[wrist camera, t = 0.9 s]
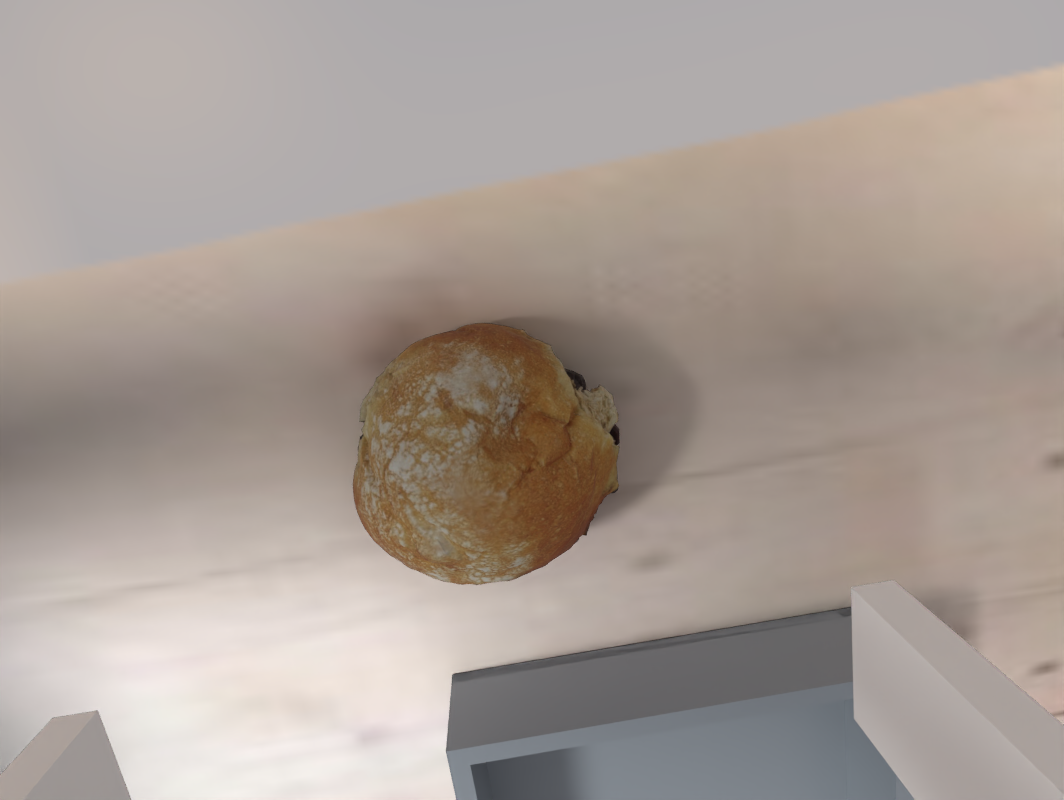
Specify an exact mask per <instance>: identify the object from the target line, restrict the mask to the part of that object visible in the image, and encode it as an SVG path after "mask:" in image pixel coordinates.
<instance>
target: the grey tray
mask: <svg viewBox="0 0 1064 800" xmlns="http://www.w3.org/2000/svg"><path fill="white" fill-rule="evenodd" d="M446 754H447V758H448V763H449V767H450V772H451V777H452V781H453V786H454V791H455V795H456V800H915V799H914V798H913V797H912V795H911V794H910V793H909V791H908V790H907V789H906V787H905V786H904V785H903V783H902V782H901V781H900V779H899V778H898V777H897V775H896V774H895V773H894V771H893V770H892V769H891V767H890V766H889V765H888V763H887V762H886V761H885V759H884V758H883V757H882V755H881V754H880V753H879V751H878V750H877V749H876V747H875V746H874V745H873V743H872V742H871V741H870V739H869V738H868V737H867V735H866V734H865V733H864V731H863V730H862V729H861V727H860V726H859V725H858V723H857V722H856V721H855V719H854V702H853V657H852V612H851V607H850V608H844V609H838V610H832V611H827V612H821V613H815V614H809V615H803V616H797V617H791V618H785V619H779V620H773V621H767V622H761V623H755V624H750V625H744V626H738V627H732V628H726V629H720V630H714V631H708V632H702V633H696V634H690V635H684V636H678V637H673V638H667V639H661V640H655V641H649V642H643V643H637V644H631V645H625V646H619V647H613V648H607V649H601V650H596V651H590V652H584V653H578V654H572V655H566V656H560V657H554V658H548V659H542V660H536V661H530V662H525V663H519V664H513V665H507V666H501V667H495V668H489V669H483V670H477V671H471V672H465V673H459V674H453V675H452V686H451V698H450V710H449V722H448V734H447V746H446Z"/></svg>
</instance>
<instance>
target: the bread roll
mask: <svg viewBox="0 0 1064 800" xmlns="http://www.w3.org/2000/svg"><path fill="white" fill-rule="evenodd" d="M574 413H575V414H574ZM576 414H577V415H576ZM359 422H365V423H364V426H363V428H362V429H361V430H362V432H363V435H362V436H361V437H360V440H359V446H358V462H357V464H356V468H355V472H354V479H353V492H354V501H355V505H356V509H357V512H358V515H359V517H360V520H361V522H362V524H363V526H364V527H365V529H366V530H367V532H368V533H369V535H370V536H371V537H372V539H373V540H374V541H375V542H376V543H377V544H378V545H379V546H380V547H382V548H383V549H384V550H385V551H386V552H387V553H388V554H389V555H391V556H392V557H394V558H396V559H398V560H399V561H401V562H402V563H403V564H404V565H406V566H407V567H409V568H411V569H414V570H417V571H419V572H422V573H424V574H426V575H428V576H430V577H432V578H434V579H438V580H441V581H445V582H451V583H456V584H462V585H464V584H475V585H479V584H485V583H491V582H499V581H510V580H513V579H516V578H518V577H520V576H522V575H525V574H528V573H530V572H531V571H533V570H536V569H538V568H541V567H543V566H546V565H547V564H548V563H549V562H550V561H552V560H553V559H555V558H556V557H558V556H559V555H561V554H562V553H564V552H566V551H567V550H569V549H570V548H571V547H572V546H573V544H575V543H576V542H577V541H578V540H579V537H581V536H582V535H587V531H588V528H589V525H590V522H591V521H592V519H593V518H594V514H595V513H596V512H597V509H598V506H599V504H601V503H602V501H603V499H604V498H605V497H606V496H607V495H608V494H610V493H615V492H616V491H617V490H618V487H619V484H618V480H617V466H616V462H617V457H618V451H619V446H617V445H618V444H619V428H618V427H617V425H616V424H615V423H617V422H618V413H617V409H616V408H615V406H614V402H613V396H612V394H611V393H609V392H607V390H606V389H605V388H604V387H603V386H601V385H599V388H594V389H592V390H591V392H590V391H588V390H586V385H585V380H584V378H583V376H582V375H580V374H578V373H576V372H574V371H571V370H567V369H564V367H563V365H562V363H561V361H560V359H559V358H557V357H556V356H555V354H554V353H553V351H552V348H551V345H548V344H546V343H544V342H542V341H540V340H537V339H534V338H532V337H531V336H529V335H527V334H526V332H525V331H524V330H523V329H522V330H518V329H514V328H511V327H507V326H501V325H495V324H488V323H477V324H471V325H466V326H463V327H460V328H458V329H457V330H456V331H449V332H445V333H440V334H436V335H433V336H430V337H427V338H425V339H422V340H420V341H417V342H415V343H413V344H412V345H410V346H409V347H408V348H407V349H406V350H405V351H404V352H402V353H401V354H400V355H399V356H398V357H397V358H396V359H394V360H393V361H392V362H391V363H390V364H389V365H388V366H387V367H386V368H385V370H384V372H383V373H382V374H381V375H380V376H379V377H377V378H376V381H375V383H374V386H373V387H372V388H371V390H370V392H369V393H368V395H367V396H366V397H365V398H364V400H363V402H362V405H361V408H360V421H359Z"/></svg>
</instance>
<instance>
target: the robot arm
mask: <svg viewBox="0 0 1064 800" xmlns="http://www.w3.org/2000/svg"><path fill="white" fill-rule="evenodd" d="M851 612H852V657H853V702H854V719H855V721H856V722H857V723H858V725H859V726H860V727H861V729H862V730H863V731H864V733H865V734H866V735H867V737H868V738H869V739H870V741H871V742H872V743H873V745H874V746H875V747H876V749H877V750H878V751H879V753H880V754H881V755H882V757H883V758H884V759H885V761H886V762H887V763H888V765H889V766H890V767H891V769H892V770H893V771H894V773H895V774H896V775H897V777H898V778H899V779H900V781H901V782H902V783H903V785H904V786H905V787H906V789H907V790H908V791H909V793H910V794H911V795H912V797H913V798H914V799H915V800H1064V725H1063V724H1062V723H1061V722H1060V721H1059V720H1057V719H1056V718H1055V717H1054V716H1053V715H1052V714H1050V713H1049V712H1048V711H1047V710H1046V709H1045V708H1043V707H1042V706H1041V705H1040V704H1039V703H1038V702H1036V701H1035V700H1034V699H1033V698H1032V697H1030V696H1029V695H1028V694H1027V693H1026V692H1025V691H1023V690H1022V689H1021V688H1020V687H1019V686H1018V685H1016V684H1015V683H1014V682H1013V681H1012V680H1011V679H1009V678H1008V677H1007V676H1006V675H1005V674H1003V673H1002V672H1001V671H1000V670H999V669H998V668H996V667H995V666H994V665H993V664H992V663H991V662H989V661H988V660H987V659H986V658H985V657H984V656H982V655H981V654H980V653H979V652H978V651H977V650H975V649H974V648H973V647H972V646H971V645H969V644H968V643H967V642H966V641H965V640H964V639H962V638H961V637H960V636H959V635H958V634H957V633H955V632H954V631H953V630H952V629H951V628H950V627H948V626H947V625H946V624H945V623H944V622H942V621H941V620H940V619H939V618H938V617H937V616H935V615H934V614H933V613H932V612H931V611H930V610H928V609H927V608H926V607H925V606H924V605H923V604H921V603H920V602H919V601H918V600H917V599H916V598H914V597H913V596H912V595H911V594H910V593H908V592H907V591H906V590H905V589H904V588H903V587H901V586H900V585H899V584H898V583H897V582H896V581H894V580H890V581H884V582H878V583H872V584H866V585H860V586H854V587H851ZM0 800H131V798H130V795H129V792H128V790H127V787H126V784H125V782H124V779H123V776H122V774H121V771H120V768H119V766H118V763H117V760H116V758H115V755H114V752H113V750H112V747H111V744H110V742H109V739H108V736H107V734H106V731H105V728H104V726H103V723H102V720H101V718H100V715H99V712H98V711H92V712H86V713H80V714H74V715H67V716H61V717H55V718H52V719H51V720H50V721H49V723H48V724H47V725H46V726H45V727H44V728H43V729H42V730H41V731H40V732H39V733H38V734H37V736H36V737H35V738H34V739H33V740H32V741H31V742H30V743H29V744H28V745H27V746H26V748H25V749H24V750H23V751H22V752H21V753H20V754H19V755H18V756H17V757H16V758H15V760H14V761H13V762H12V763H11V764H10V765H9V766H8V767H7V768H6V769H5V770H4V772H3V773H2V774H1V775H0Z"/></svg>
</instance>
